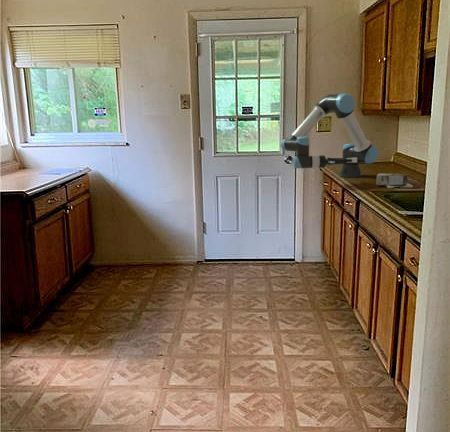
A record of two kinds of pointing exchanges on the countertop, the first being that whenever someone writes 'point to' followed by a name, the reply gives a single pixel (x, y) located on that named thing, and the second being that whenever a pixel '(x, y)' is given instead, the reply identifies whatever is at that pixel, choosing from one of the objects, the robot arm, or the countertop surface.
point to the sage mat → (399, 186)
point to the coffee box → (391, 179)
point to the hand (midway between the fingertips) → (356, 160)
